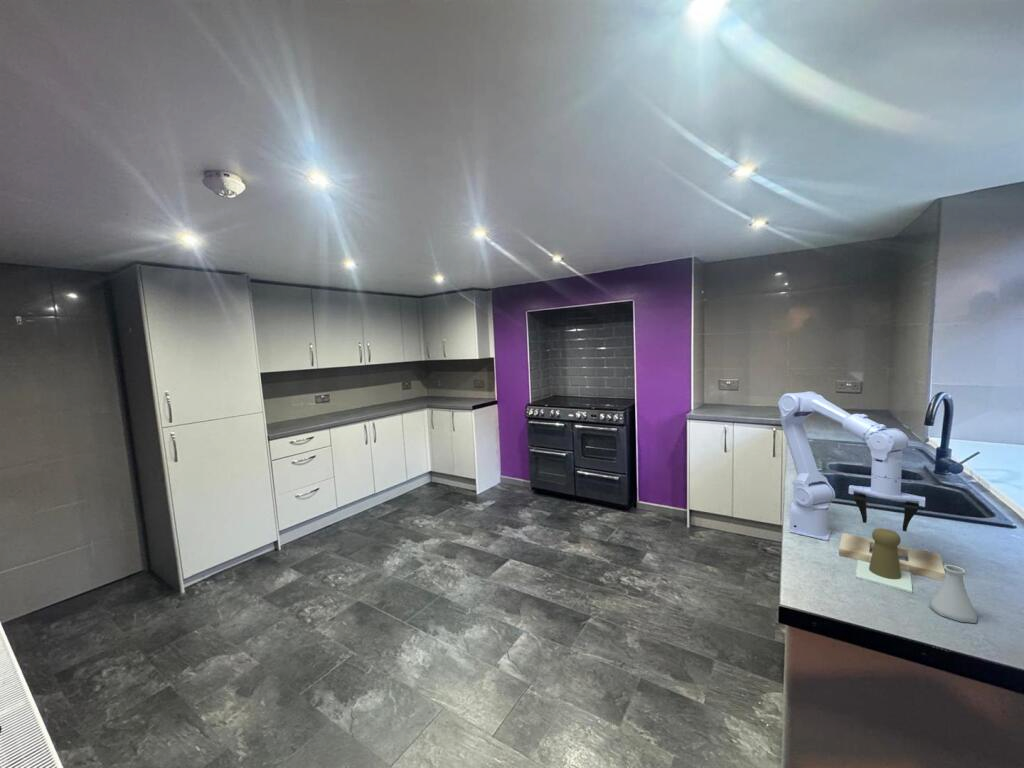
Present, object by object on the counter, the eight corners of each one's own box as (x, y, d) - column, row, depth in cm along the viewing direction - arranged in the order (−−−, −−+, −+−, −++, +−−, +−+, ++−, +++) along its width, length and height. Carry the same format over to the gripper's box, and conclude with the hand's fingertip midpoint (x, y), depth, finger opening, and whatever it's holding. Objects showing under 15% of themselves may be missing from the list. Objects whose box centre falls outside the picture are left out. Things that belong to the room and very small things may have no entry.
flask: (985, 628, 81) (987, 581, 80) (935, 617, 85) (937, 572, 84) (969, 608, 87) (971, 564, 86) (923, 598, 91) (925, 556, 90)
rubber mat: (855, 577, 100) (855, 576, 100) (857, 561, 107) (857, 559, 107) (912, 593, 93) (912, 591, 93) (910, 574, 100) (910, 572, 100)
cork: (904, 582, 97) (905, 538, 96) (871, 575, 100) (872, 532, 99) (898, 570, 102) (899, 528, 101) (866, 564, 105) (868, 523, 104)
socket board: (838, 555, 111) (839, 548, 110) (842, 539, 119) (842, 533, 119) (944, 581, 97) (945, 573, 97) (939, 561, 106) (940, 554, 106)
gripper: (925, 477, 101) (923, 528, 103) (851, 466, 112) (850, 513, 113) (926, 484, 97) (923, 538, 98) (848, 472, 107) (846, 521, 108)
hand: (884, 525), depth 105 cm, fingers open, 7 cm apart
